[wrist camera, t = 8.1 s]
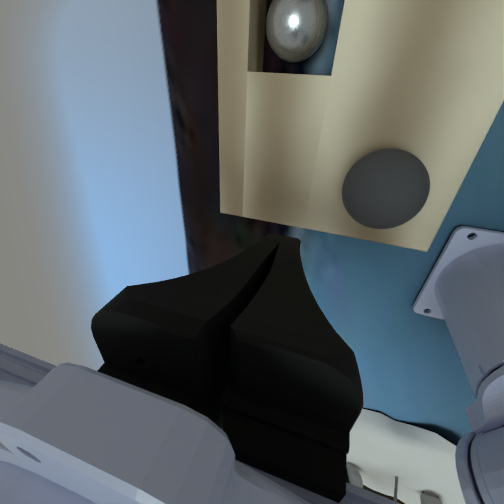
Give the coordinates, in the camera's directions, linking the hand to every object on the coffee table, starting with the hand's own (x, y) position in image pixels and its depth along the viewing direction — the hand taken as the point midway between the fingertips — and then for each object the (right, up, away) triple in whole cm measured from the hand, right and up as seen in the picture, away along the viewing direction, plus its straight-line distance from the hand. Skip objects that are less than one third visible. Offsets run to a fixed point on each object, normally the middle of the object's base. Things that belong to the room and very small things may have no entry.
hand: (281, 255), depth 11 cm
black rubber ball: (+5, +3, +2) cm, 7 cm away
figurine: (+18, -26, +23) cm, 39 cm away
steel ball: (+1, +12, +2) cm, 12 cm away
